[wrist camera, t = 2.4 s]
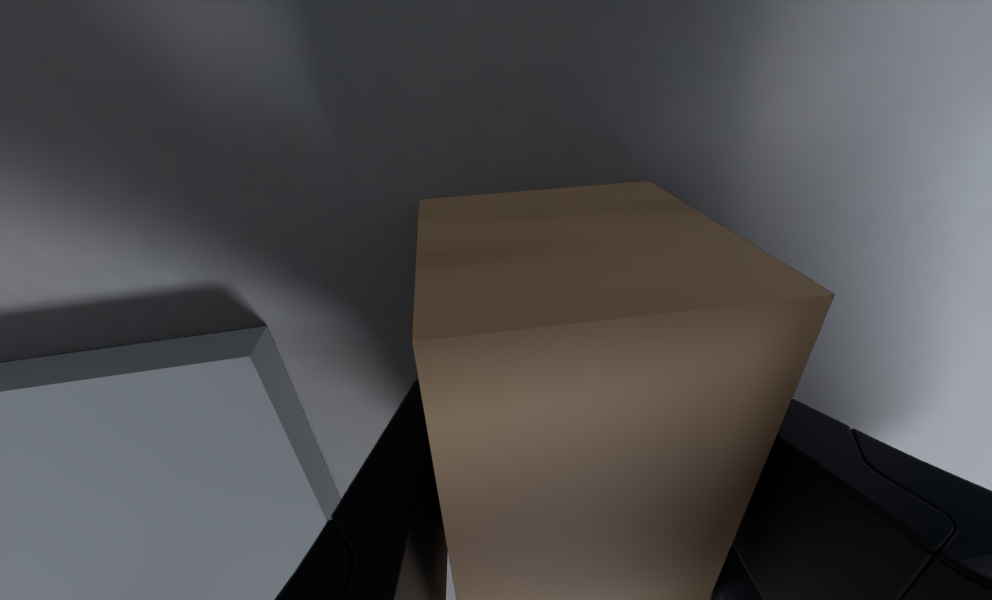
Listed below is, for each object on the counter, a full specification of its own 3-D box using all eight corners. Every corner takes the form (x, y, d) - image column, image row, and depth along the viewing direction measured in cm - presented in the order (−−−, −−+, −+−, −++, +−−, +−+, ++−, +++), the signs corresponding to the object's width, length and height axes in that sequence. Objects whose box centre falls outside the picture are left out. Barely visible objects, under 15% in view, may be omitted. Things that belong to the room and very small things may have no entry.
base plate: (382, 599, 14) (379, 634, 14) (27, 666, 14) (0, 707, 13) (267, 325, 9) (250, 355, 8) (-353, 410, 8) (-448, 454, 7)
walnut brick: (612, 439, 12) (699, 623, 8) (454, 461, 12) (467, 666, 8) (648, 180, 8) (835, 294, 5) (419, 198, 8) (413, 340, 4)
